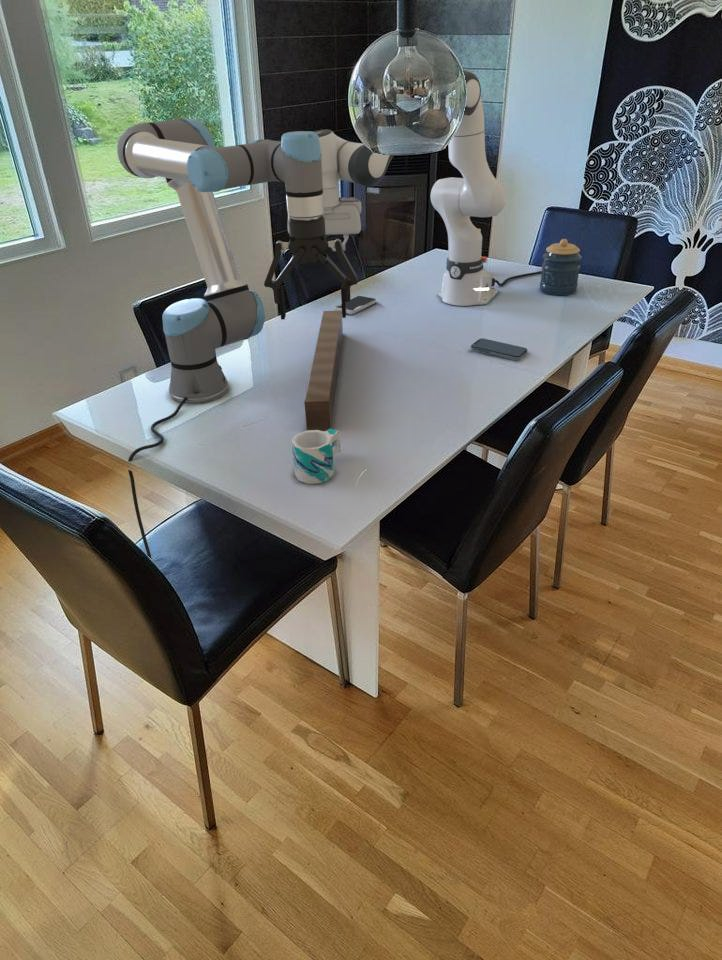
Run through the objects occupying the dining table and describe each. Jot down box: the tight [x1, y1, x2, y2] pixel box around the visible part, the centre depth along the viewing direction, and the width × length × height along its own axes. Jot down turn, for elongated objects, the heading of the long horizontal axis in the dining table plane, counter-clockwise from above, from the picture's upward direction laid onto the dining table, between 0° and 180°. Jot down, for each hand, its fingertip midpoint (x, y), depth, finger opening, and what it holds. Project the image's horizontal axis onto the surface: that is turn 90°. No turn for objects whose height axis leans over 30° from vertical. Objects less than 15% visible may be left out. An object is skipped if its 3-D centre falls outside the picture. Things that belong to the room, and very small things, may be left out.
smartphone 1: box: [334, 295, 377, 315], centre depth 231 cm, size 8×1×15 cm
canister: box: [539, 238, 582, 296], centre depth 234 cm, size 13×13×18 cm
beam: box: [303, 310, 344, 432], centre depth 181 cm, size 62×6×8 cm, turn 179°
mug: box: [291, 428, 341, 485], centre depth 140 cm, size 8×12×8 cm
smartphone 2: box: [470, 337, 528, 361], centre depth 193 cm, size 8×2×15 cm
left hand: (313, 316), depth 149 cm, fingers open, 13 cm apart
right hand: (326, 250), depth 188 cm, fingers open, 8 cm apart
